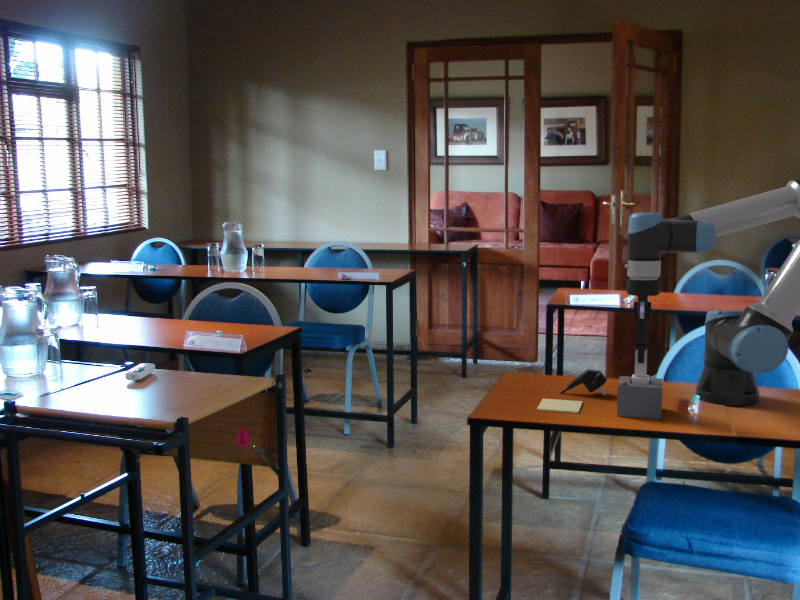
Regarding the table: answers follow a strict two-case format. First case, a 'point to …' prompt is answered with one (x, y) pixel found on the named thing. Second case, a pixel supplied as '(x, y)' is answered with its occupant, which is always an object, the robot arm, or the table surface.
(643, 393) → the switch box
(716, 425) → the table surface
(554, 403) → the pad
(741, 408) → the table surface
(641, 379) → the button
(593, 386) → the power plug
